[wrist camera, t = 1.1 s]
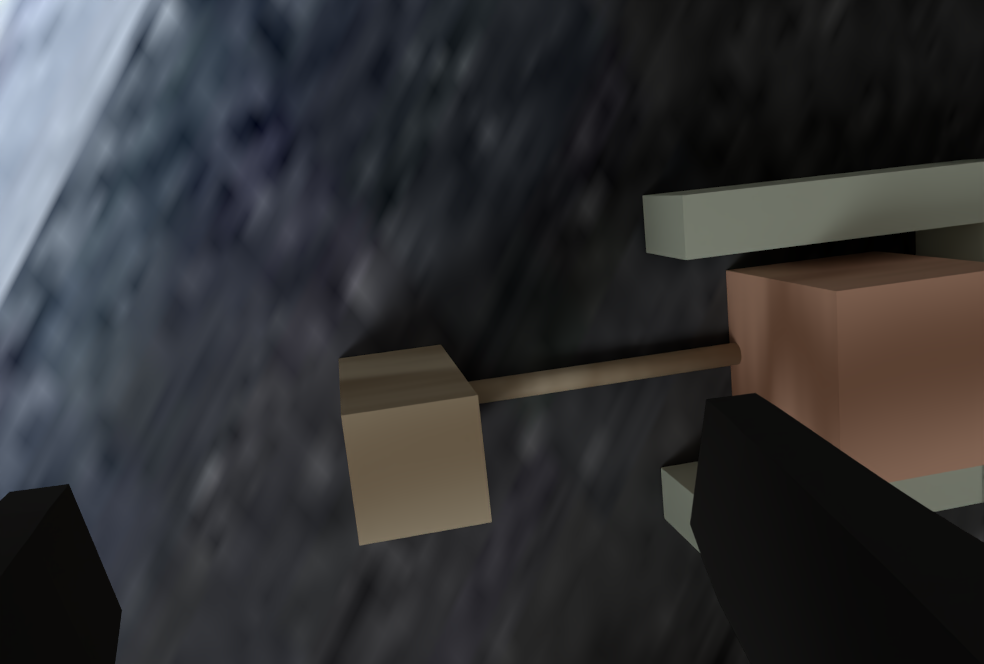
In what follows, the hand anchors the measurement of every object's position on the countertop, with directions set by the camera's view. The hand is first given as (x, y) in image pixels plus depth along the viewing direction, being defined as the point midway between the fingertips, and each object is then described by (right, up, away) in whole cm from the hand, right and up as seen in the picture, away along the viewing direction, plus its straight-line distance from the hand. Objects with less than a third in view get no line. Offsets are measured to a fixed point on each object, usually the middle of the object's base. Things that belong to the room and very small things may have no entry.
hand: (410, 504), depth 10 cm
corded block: (+5, +1, +13) cm, 13 cm away
